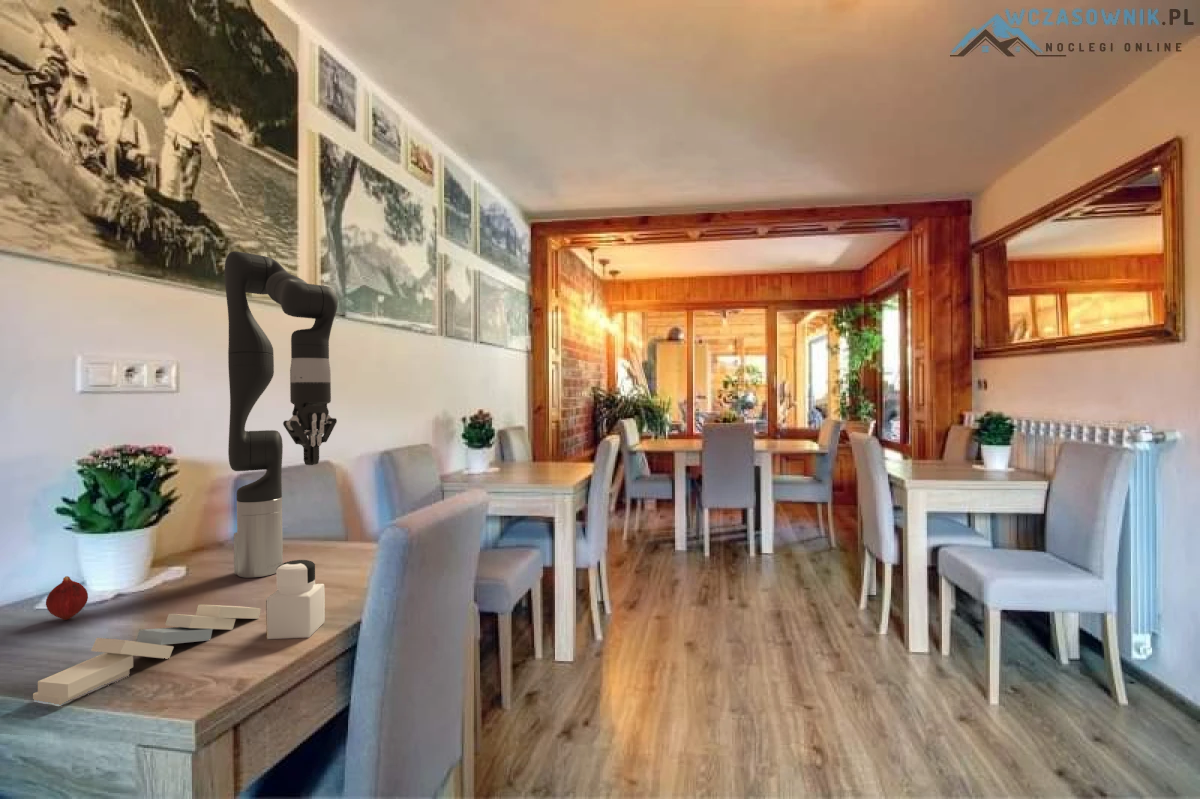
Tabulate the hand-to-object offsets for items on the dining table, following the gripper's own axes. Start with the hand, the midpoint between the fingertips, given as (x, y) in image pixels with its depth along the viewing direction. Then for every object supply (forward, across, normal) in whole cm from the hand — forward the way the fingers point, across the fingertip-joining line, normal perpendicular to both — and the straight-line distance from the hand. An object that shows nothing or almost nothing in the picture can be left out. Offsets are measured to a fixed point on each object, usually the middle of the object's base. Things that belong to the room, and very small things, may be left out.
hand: (311, 464), depth 123 cm
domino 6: (+26, -14, +3) cm, 30 cm away
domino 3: (+26, -31, +2) cm, 40 cm away
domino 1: (+25, -37, +2) cm, 44 cm away
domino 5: (+26, -19, +3) cm, 32 cm away
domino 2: (+26, -37, +2) cm, 46 cm away
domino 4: (+26, -24, +3) cm, 35 cm away
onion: (+27, -23, +35) cm, 50 cm away
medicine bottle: (+27, -17, -11) cm, 34 cm away
